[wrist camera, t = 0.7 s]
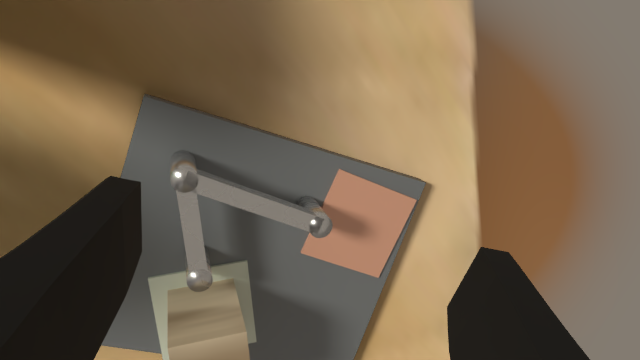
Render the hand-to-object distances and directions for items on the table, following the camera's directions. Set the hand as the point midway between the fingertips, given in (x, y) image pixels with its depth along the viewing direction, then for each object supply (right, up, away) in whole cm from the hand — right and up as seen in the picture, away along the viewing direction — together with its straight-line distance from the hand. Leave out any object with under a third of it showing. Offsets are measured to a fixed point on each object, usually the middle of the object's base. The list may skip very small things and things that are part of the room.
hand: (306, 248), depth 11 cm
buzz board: (-4, -3, +23) cm, 23 cm away
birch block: (-7, -7, +22) cm, 24 cm away
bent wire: (-5, -1, +20) cm, 21 cm away
